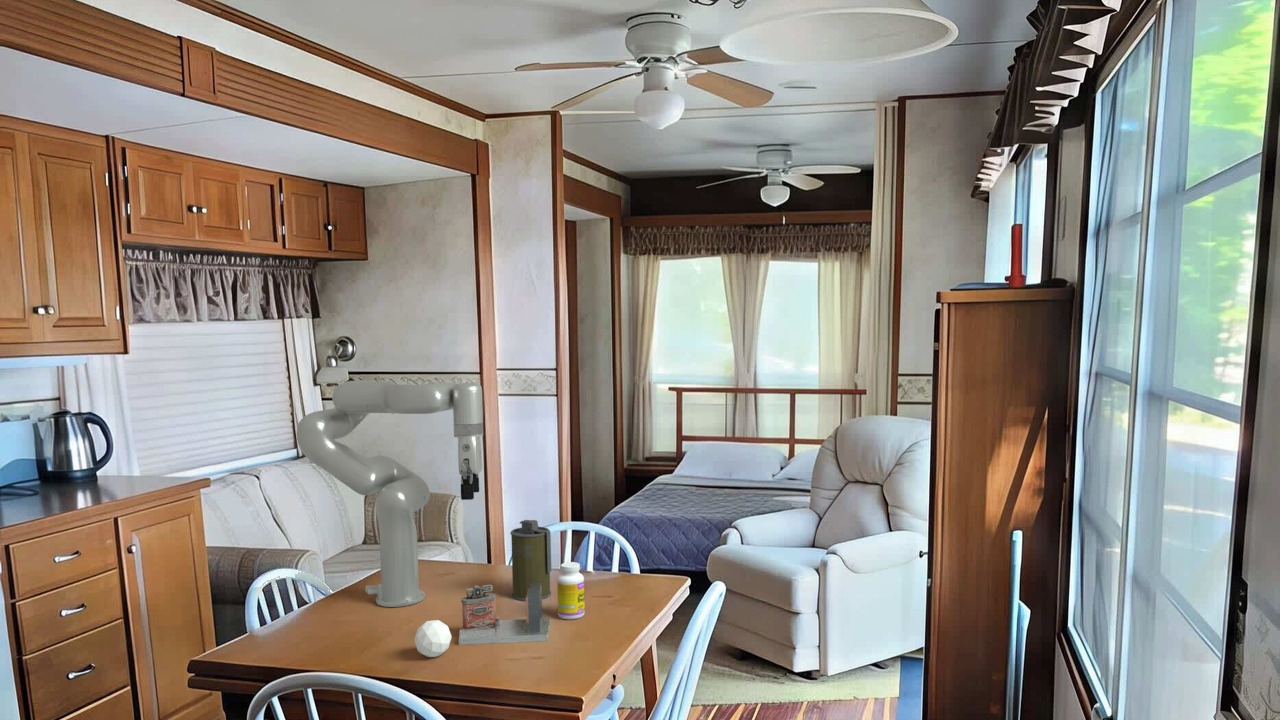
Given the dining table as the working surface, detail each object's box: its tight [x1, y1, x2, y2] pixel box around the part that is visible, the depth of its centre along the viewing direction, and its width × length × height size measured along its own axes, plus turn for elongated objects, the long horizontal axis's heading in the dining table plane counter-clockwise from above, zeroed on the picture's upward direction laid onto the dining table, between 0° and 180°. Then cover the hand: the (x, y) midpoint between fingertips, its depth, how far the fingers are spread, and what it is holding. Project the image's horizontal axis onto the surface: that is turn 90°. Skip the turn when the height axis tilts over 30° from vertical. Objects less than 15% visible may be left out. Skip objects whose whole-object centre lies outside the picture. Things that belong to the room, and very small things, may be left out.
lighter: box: [460, 584, 497, 629], centre depth 194 cm, size 8×3×10 cm, turn 115°
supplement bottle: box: [556, 561, 586, 621], centre depth 206 cm, size 7×7×13 cm
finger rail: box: [458, 583, 551, 646], centre depth 194 cm, size 20×11×10 cm, turn 93°
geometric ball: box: [414, 619, 453, 658], centre depth 182 cm, size 8×8×8 cm
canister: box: [509, 519, 552, 602], centre depth 223 cm, size 11×10×20 cm
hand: (470, 495), depth 217 cm, fingers open, 9 cm apart
